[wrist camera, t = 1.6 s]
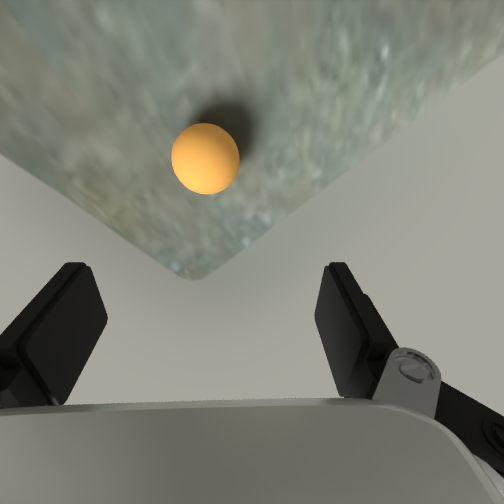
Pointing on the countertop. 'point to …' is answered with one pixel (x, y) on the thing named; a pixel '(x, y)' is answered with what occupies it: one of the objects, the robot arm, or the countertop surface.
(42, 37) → the countertop surface
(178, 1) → the countertop surface
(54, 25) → the countertop surface
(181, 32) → the countertop surface
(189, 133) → the ball
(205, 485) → the robot arm
